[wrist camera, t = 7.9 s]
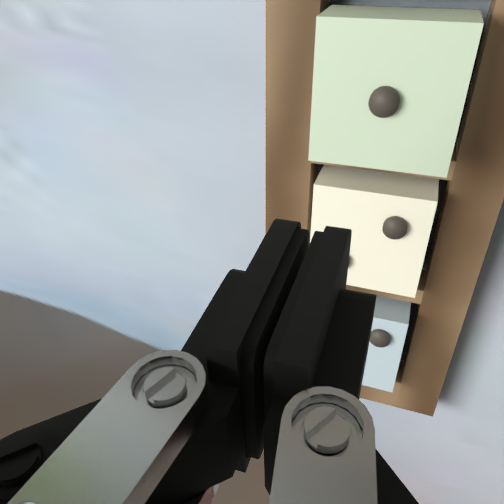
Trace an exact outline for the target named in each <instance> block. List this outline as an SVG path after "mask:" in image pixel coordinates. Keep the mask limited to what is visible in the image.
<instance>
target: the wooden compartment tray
mask: <svg viewBox="0 0 504 504" xmlns="http://www.w3.org/2000/svg"><path fill="white" fill-rule="evenodd" d="M328 7H329V0H266V234H267V232H268V230H269V228H270V226H271V225H272V223H273V221H274V220H275V219H276V218H277V219H284V220H291V221H298V222H300V223H301V229H307V230H309V244H310V233H311V217H312V202H313V186H314V183H315V181H316V179H317V173H318V164H324V165H332V166H340V167H348V168H355V169H363V170H371V171H379V172H387V173H395V174H403V175H411V176H419V177H426V178H434V179H442V180H448V181H447V185H446V189H445V193H444V197H443V201H442V206H441V210H440V214H439V218H438V222H437V226H436V230H435V234H434V238H433V242H432V247H431V251H430V255H429V259H428V263H427V267H426V271H424V270H421V274H420V279H419V283H418V287H417V291H416V295H415V298H412V297H407V296H402V295H397V294H392V293H386V292H381V291H376V290H371V289H366V288H361V287H356V286H350V285H346V289H347V290H352V291H358V292H363V293H369V294H374V295H377V296H381V297H386V298H391V299H396V300H402V301H407V302H412V303H417V308H416V312H415V316H414V320H413V324H412V329H411V333H410V337H409V341H408V345H407V349H406V353H405V357H404V361H400V363H399V367H398V371H397V375H396V380H395V384H394V388H393V392H388V391H384V390H380V389H376V388H372V387H368V386H364V385H362V386H361V391H360V398H364V399H367V400H371V401H375V402H379V403H383V404H387V405H391V406H395V407H398V408H402V409H406V410H410V411H414V412H418V413H422V414H426V415H429V416H433V414H434V411H435V408H436V405H437V402H438V399H439V396H440V392H441V389H442V386H443V383H444V380H445V377H446V374H447V371H448V368H449V365H450V362H451V359H452V356H453V353H454V350H455V347H456V344H457V340H458V337H459V334H460V331H461V328H462V325H463V322H464V319H465V316H466V313H467V310H468V307H469V304H470V301H471V298H472V295H473V292H474V288H475V285H476V282H477V279H478V276H479V273H480V270H481V267H482V264H483V261H484V258H485V255H486V252H487V249H488V246H489V243H490V240H491V237H492V233H493V230H494V227H495V224H496V221H497V218H498V215H499V212H500V209H501V206H502V203H503V200H504V0H491V4H490V9H489V13H488V17H487V21H486V25H485V29H484V33H483V37H482V41H481V46H480V50H479V54H478V58H477V62H476V66H475V70H474V74H473V78H472V82H471V87H470V91H469V95H468V99H467V103H466V107H465V111H464V115H463V119H462V123H461V128H460V132H459V136H458V140H457V144H456V146H454V149H453V153H452V157H451V162H450V166H449V170H448V174H447V178H444V177H436V176H428V175H420V174H412V173H404V172H396V171H388V170H380V169H372V168H364V167H356V166H348V165H340V164H332V163H324V162H316V161H308V157H309V139H310V121H311V103H312V85H313V67H314V50H315V32H316V16H318V15H319V14H320V13H322V12H323V11H324V10H325V9H327V8H328Z"/></svg>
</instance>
